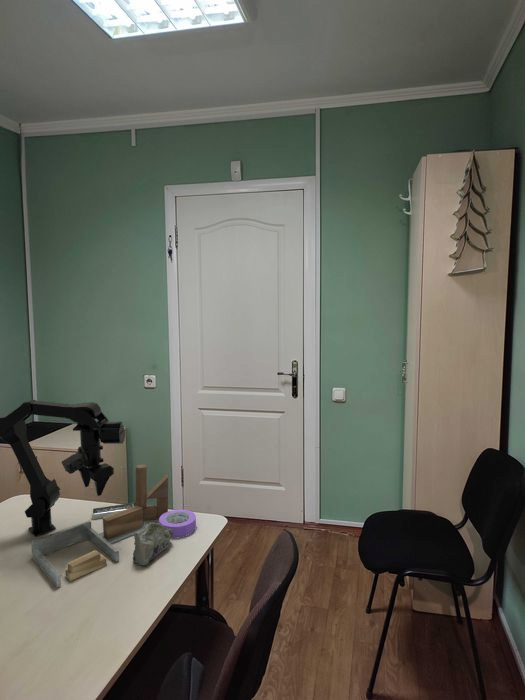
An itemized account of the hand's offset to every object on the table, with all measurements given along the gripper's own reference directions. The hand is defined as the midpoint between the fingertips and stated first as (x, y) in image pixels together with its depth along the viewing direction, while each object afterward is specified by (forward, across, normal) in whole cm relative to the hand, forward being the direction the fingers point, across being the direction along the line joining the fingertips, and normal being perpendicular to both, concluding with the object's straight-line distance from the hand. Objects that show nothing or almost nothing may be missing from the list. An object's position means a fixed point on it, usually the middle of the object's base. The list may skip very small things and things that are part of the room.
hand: (92, 491), depth 142 cm
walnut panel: (+13, +8, +6) cm, 16 cm away
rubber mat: (+13, +8, +6) cm, 16 cm away
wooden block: (+13, +6, +17) cm, 22 cm away
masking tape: (+13, +18, +20) cm, 30 cm away
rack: (+13, +12, -11) cm, 21 cm away
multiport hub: (+14, -6, +10) cm, 18 cm away
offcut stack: (+13, +20, -11) cm, 26 cm away
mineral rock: (+13, +26, +6) cm, 30 cm away
